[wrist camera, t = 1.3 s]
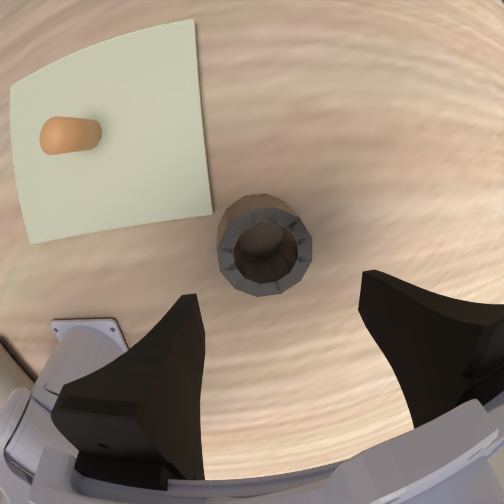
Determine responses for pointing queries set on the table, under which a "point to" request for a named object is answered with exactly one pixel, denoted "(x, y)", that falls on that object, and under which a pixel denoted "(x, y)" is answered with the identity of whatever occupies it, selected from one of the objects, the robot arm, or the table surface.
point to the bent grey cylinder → (11, 376)
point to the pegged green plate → (112, 136)
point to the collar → (274, 265)
